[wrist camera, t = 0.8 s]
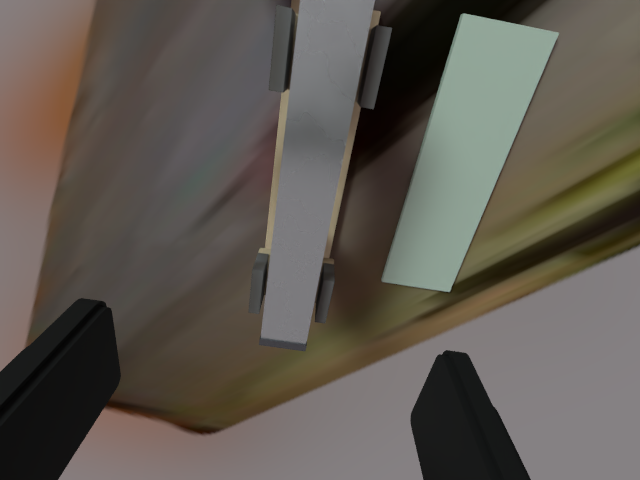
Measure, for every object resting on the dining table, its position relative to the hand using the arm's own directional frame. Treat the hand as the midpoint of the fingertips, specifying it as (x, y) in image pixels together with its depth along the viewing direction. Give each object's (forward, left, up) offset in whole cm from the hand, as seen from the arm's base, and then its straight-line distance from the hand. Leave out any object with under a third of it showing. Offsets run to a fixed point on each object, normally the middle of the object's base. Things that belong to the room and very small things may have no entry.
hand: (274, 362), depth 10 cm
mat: (-14, 0, -26) cm, 30 cm away
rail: (0, 0, -16) cm, 16 cm away
